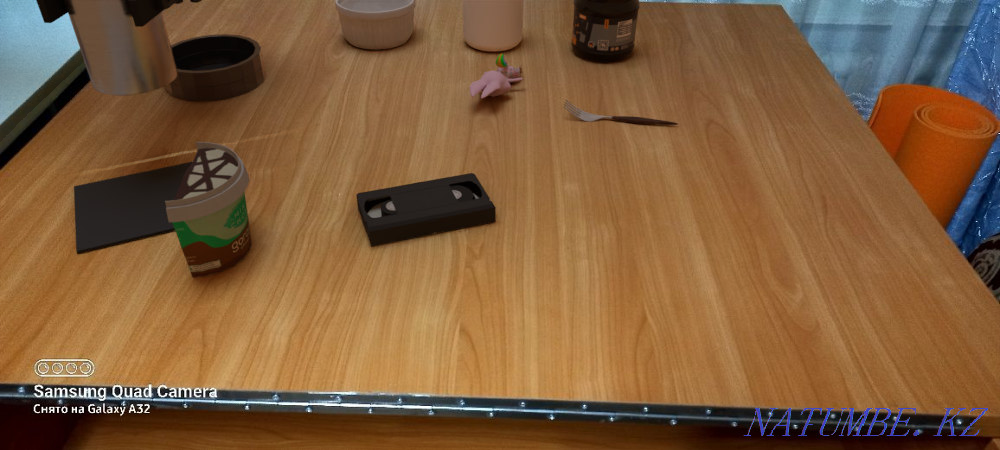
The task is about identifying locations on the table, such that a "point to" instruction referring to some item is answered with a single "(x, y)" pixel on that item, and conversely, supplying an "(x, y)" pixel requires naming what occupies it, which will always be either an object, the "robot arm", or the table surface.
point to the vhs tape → (424, 208)
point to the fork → (613, 117)
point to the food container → (212, 211)
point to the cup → (492, 24)
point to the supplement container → (604, 29)
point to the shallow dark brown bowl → (216, 67)
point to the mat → (125, 207)
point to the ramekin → (376, 22)
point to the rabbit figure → (497, 79)
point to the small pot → (121, 47)
